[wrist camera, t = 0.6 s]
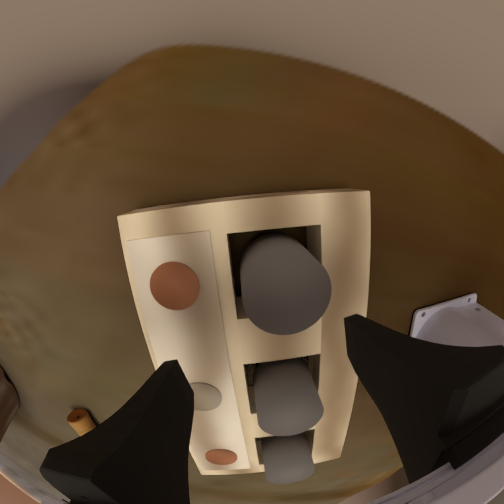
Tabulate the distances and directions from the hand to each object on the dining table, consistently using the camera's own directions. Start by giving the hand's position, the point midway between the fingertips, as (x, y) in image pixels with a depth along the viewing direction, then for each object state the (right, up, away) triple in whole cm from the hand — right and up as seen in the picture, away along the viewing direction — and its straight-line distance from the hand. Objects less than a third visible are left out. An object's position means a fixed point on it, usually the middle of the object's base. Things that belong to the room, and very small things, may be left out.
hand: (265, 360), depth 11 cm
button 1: (+1, +4, +7) cm, 8 cm away
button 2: (+2, -5, +9) cm, 11 cm away
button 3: (+3, -14, +11) cm, 18 cm away
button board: (0, -5, +11) cm, 12 cm away
